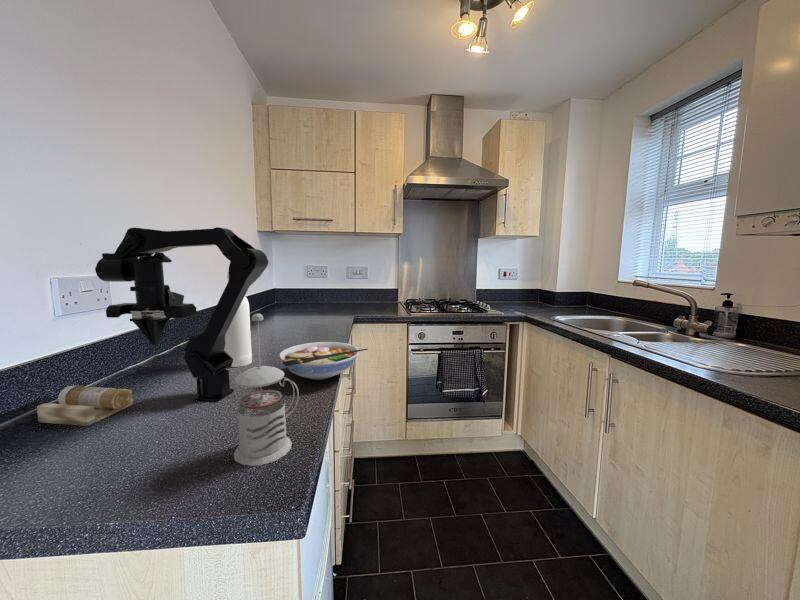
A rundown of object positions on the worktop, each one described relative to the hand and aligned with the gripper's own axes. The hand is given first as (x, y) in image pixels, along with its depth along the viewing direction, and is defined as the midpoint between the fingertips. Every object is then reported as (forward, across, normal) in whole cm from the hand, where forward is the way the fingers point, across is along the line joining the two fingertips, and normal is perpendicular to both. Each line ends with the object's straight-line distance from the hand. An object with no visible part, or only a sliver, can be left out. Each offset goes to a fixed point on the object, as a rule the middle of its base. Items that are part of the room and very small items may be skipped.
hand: (155, 344), depth 79 cm
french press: (+14, -37, +20) cm, 44 cm away
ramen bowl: (+14, -36, -17) cm, 42 cm away
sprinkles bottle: (+10, +1, +9) cm, 14 cm away
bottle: (+13, -6, -25) cm, 29 cm away
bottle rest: (+13, +8, +10) cm, 18 cm away
